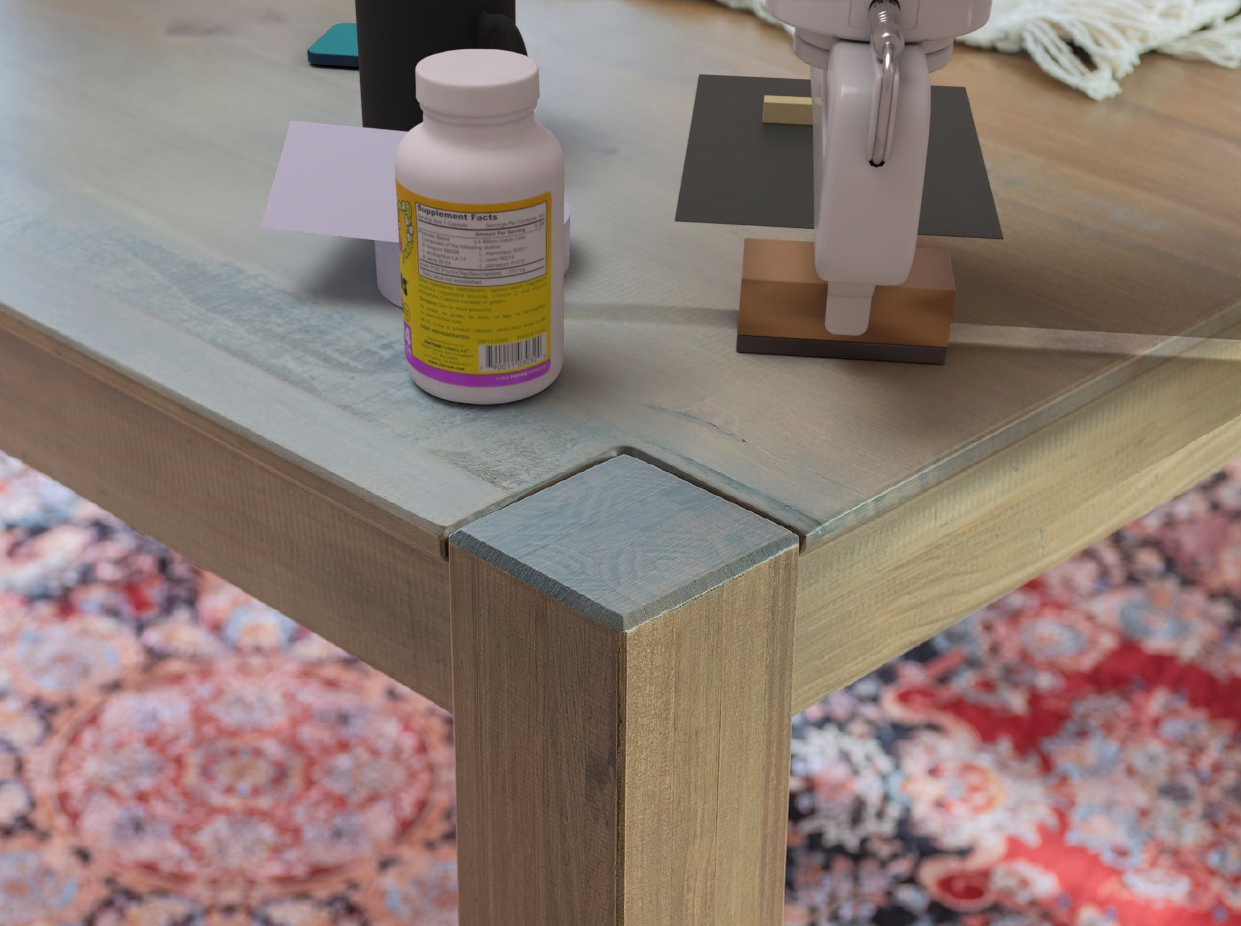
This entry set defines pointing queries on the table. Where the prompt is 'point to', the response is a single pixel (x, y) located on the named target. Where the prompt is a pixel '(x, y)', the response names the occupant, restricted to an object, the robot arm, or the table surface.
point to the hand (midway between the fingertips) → (843, 299)
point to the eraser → (796, 298)
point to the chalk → (787, 110)
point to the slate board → (784, 171)
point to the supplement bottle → (481, 231)
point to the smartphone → (336, 47)
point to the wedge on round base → (347, 192)
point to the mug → (420, 48)
